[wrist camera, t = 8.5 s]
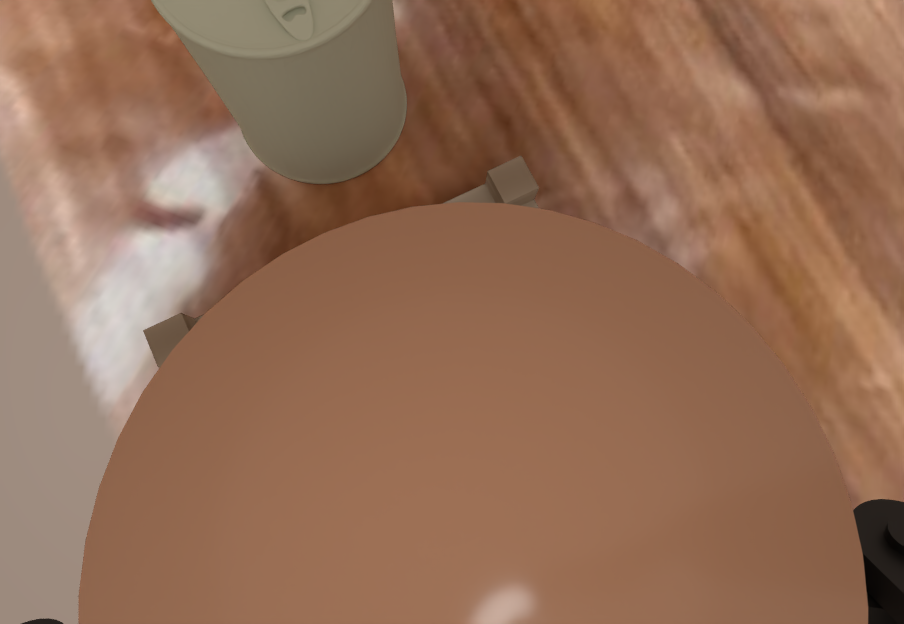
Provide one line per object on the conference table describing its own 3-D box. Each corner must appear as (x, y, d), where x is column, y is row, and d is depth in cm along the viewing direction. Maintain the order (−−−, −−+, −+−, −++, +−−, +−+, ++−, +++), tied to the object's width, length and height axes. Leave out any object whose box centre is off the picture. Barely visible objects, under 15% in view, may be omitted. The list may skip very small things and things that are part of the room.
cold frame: (181, 342, 31) (143, 330, 27) (511, 188, 33) (521, 155, 29) (309, 646, 28) (288, 682, 24) (659, 460, 30) (692, 466, 26)
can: (276, 211, 32) (181, 88, 20) (214, 68, 34) (93, -125, 22) (434, 145, 33) (430, -10, 21) (367, 8, 35) (329, -209, 23)
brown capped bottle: (405, 321, 17) (328, 88, 5) (597, 420, 17) (972, 405, 5) (299, 517, 16) (-89, 769, 4) (500, 628, 16) (680, 1242, 4)
